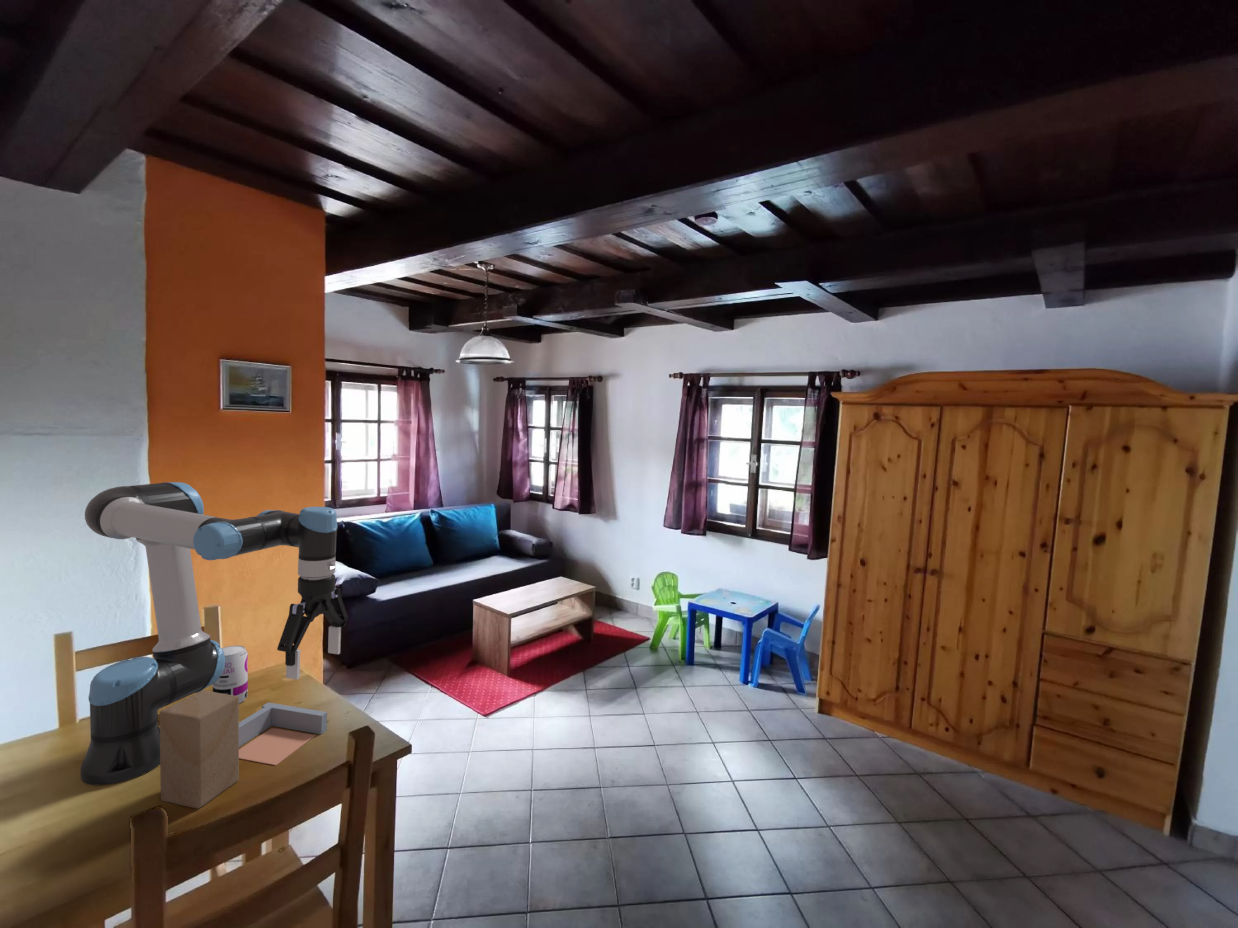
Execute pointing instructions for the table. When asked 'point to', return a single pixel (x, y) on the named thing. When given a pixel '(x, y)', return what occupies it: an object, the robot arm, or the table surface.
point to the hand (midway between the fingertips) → (314, 664)
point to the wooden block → (199, 748)
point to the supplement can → (234, 673)
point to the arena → (278, 732)
